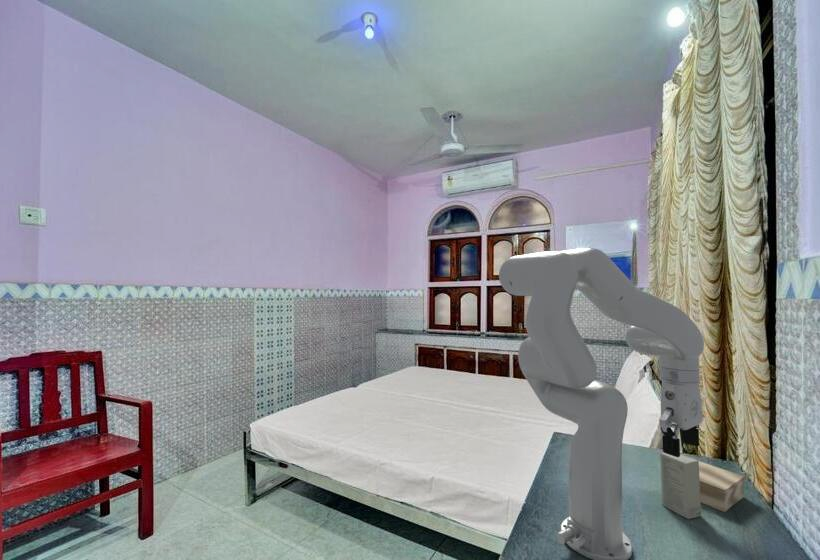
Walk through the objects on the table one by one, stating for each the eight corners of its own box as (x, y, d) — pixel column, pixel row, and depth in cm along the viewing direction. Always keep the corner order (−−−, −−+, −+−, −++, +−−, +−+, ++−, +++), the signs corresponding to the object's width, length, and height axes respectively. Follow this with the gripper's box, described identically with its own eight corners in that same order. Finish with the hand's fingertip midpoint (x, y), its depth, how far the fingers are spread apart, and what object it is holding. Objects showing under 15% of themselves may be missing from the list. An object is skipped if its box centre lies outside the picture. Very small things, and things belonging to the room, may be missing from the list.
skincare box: (701, 516, 81) (701, 461, 81) (687, 520, 79) (686, 463, 80) (673, 501, 87) (672, 449, 87) (659, 504, 85) (659, 451, 86)
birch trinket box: (725, 512, 82) (724, 490, 82) (677, 493, 90) (677, 472, 90) (745, 497, 89) (744, 476, 89) (698, 480, 97) (698, 460, 97)
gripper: (680, 384, 76) (683, 466, 76) (714, 373, 86) (716, 446, 85) (642, 377, 83) (644, 452, 82) (677, 367, 92) (679, 435, 92)
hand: (681, 449), depth 84 cm, fingers open, 9 cm apart
